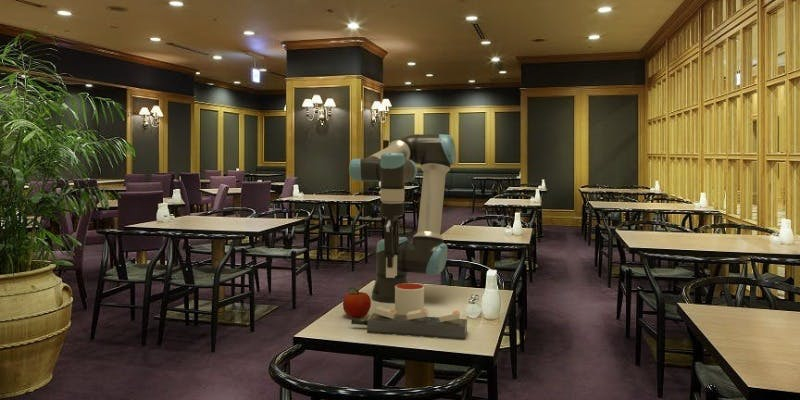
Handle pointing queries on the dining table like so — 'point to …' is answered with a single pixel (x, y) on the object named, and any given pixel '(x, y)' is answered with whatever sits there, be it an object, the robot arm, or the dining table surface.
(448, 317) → the rocker
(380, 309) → the block
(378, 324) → the power strip
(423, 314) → the rocker
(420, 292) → the cup
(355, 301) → the fruit
